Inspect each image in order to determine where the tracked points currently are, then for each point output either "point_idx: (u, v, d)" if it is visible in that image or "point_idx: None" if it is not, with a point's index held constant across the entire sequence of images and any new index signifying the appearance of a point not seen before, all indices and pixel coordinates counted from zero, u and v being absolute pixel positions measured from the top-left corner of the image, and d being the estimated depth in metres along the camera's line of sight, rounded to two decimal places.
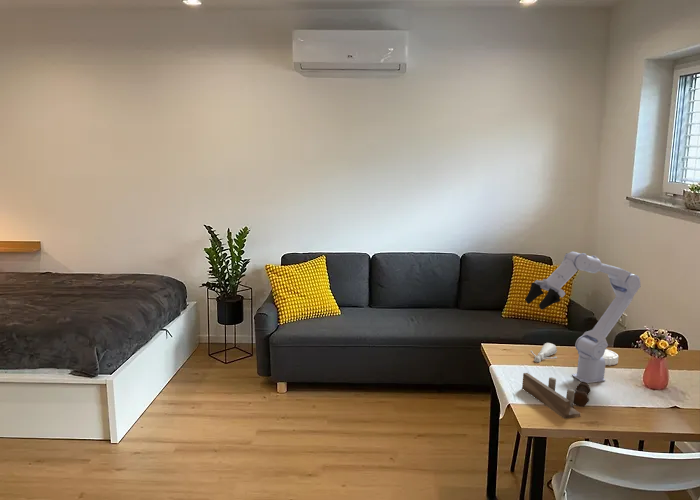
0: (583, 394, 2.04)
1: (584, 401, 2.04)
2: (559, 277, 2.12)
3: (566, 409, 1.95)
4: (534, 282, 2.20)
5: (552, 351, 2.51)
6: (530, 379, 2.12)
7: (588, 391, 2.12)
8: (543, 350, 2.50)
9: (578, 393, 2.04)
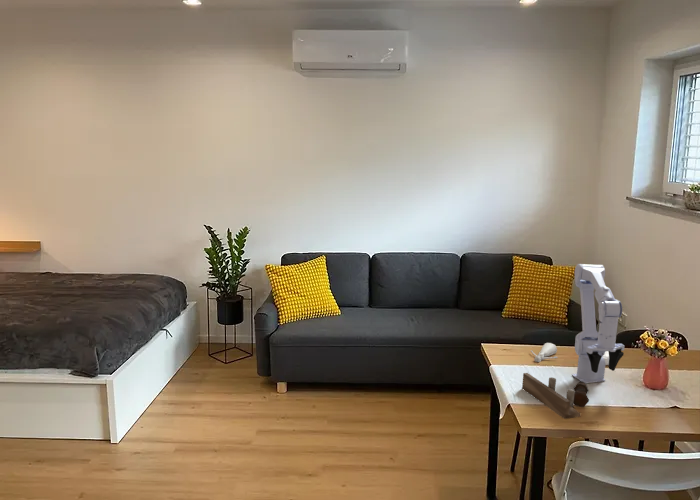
0: (583, 394, 2.04)
1: (584, 401, 2.04)
2: (615, 337, 2.08)
3: (566, 409, 1.95)
4: (590, 352, 2.07)
5: (552, 351, 2.51)
6: (530, 379, 2.12)
7: (586, 391, 2.12)
8: (543, 350, 2.50)
9: (578, 393, 2.04)
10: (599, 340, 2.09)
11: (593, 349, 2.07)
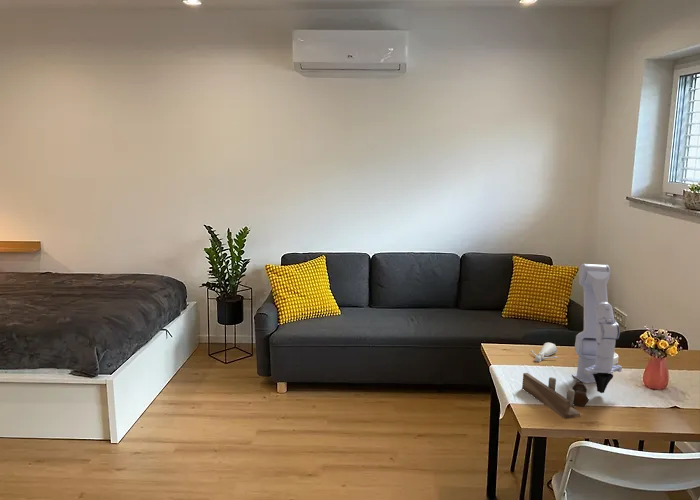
0: (583, 394, 2.04)
1: (584, 401, 2.04)
2: None
3: (566, 409, 1.95)
4: (588, 374, 2.09)
5: (552, 351, 2.51)
6: (530, 379, 2.12)
7: (585, 390, 2.12)
8: (543, 350, 2.50)
9: (578, 393, 2.04)
10: (597, 362, 2.11)
11: (591, 371, 2.09)
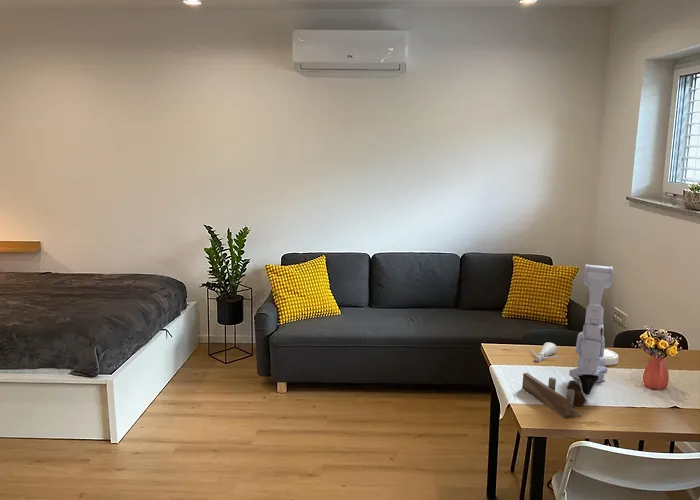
0: (580, 394, 2.04)
1: (581, 401, 2.04)
2: (598, 360, 2.08)
3: (566, 409, 1.95)
4: (573, 375, 2.07)
5: (552, 350, 2.52)
6: (530, 379, 2.12)
7: (580, 390, 2.13)
8: (543, 349, 2.50)
9: (575, 393, 2.04)
10: (582, 363, 2.09)
11: (576, 372, 2.07)
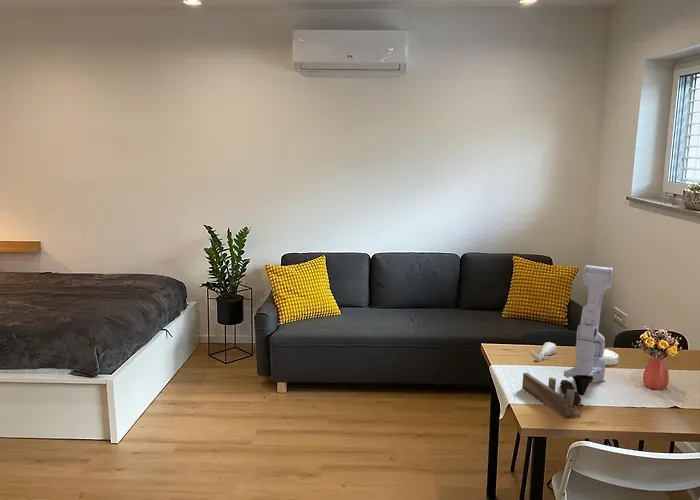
0: (576, 394, 2.04)
1: (577, 400, 2.04)
2: (593, 361, 2.07)
3: (566, 409, 1.95)
4: (567, 376, 2.06)
5: (552, 350, 2.52)
6: (530, 379, 2.12)
7: (573, 389, 2.13)
8: (544, 349, 2.51)
9: None
10: (576, 364, 2.08)
11: (570, 373, 2.06)
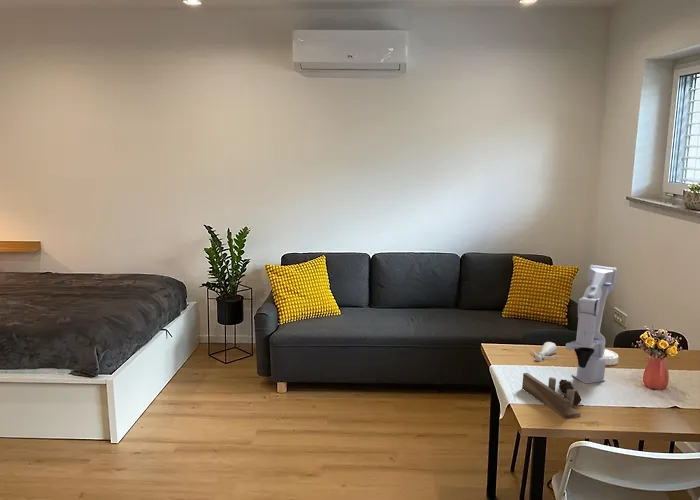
0: (576, 393, 2.04)
1: (577, 400, 2.04)
2: (594, 333, 2.12)
3: (566, 409, 1.95)
4: (569, 348, 2.10)
5: (552, 350, 2.52)
6: (530, 379, 2.12)
7: (572, 389, 2.14)
8: (544, 349, 2.51)
9: None
10: (578, 337, 2.12)
11: (572, 346, 2.10)
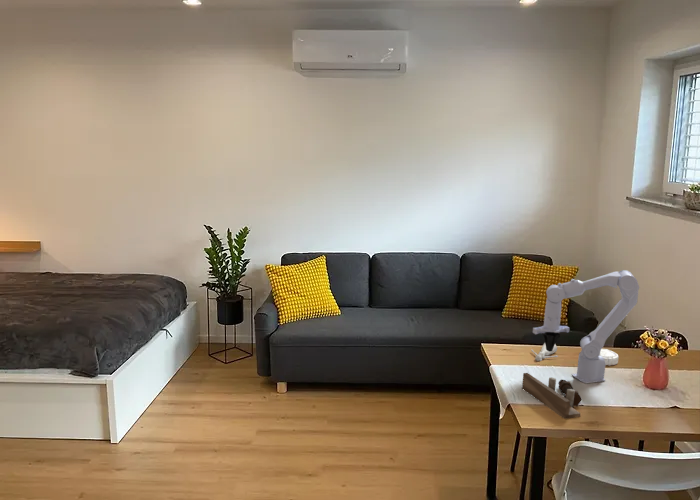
0: (576, 393, 2.04)
1: (577, 400, 2.04)
2: None
3: (566, 409, 1.95)
4: (536, 332, 2.26)
5: (553, 350, 2.52)
6: (530, 379, 2.12)
7: None
8: (544, 349, 2.51)
9: None
10: (545, 322, 2.28)
11: (538, 330, 2.26)
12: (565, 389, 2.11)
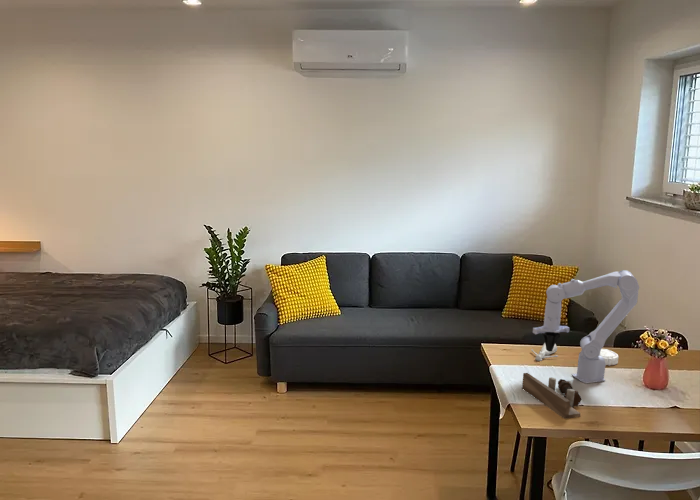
0: (576, 393, 2.04)
1: (577, 400, 2.04)
2: None
3: (566, 409, 1.95)
4: (536, 332, 2.26)
5: (553, 350, 2.53)
6: (530, 379, 2.12)
7: (571, 388, 2.14)
8: (544, 349, 2.51)
9: None
10: (545, 322, 2.28)
11: (538, 330, 2.26)
12: (565, 389, 2.11)
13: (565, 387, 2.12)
